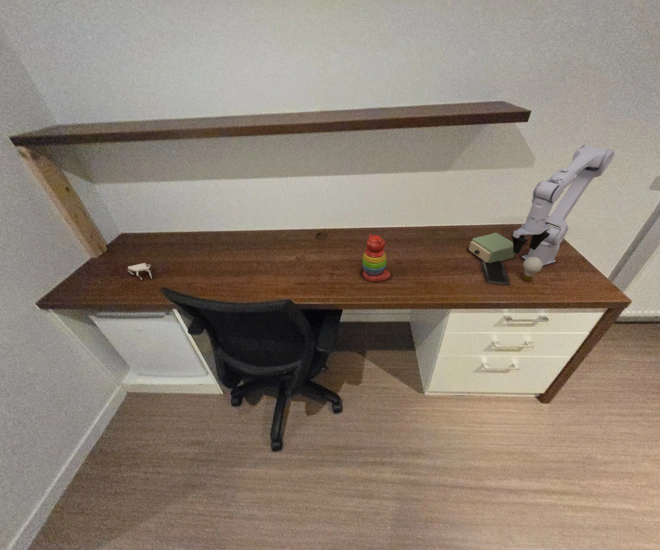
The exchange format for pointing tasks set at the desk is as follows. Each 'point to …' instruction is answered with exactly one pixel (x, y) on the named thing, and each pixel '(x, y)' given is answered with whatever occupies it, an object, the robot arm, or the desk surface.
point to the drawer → (479, 251)
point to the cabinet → (496, 246)
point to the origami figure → (139, 268)
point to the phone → (495, 272)
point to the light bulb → (531, 267)
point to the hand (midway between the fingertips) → (524, 250)
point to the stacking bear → (375, 260)
